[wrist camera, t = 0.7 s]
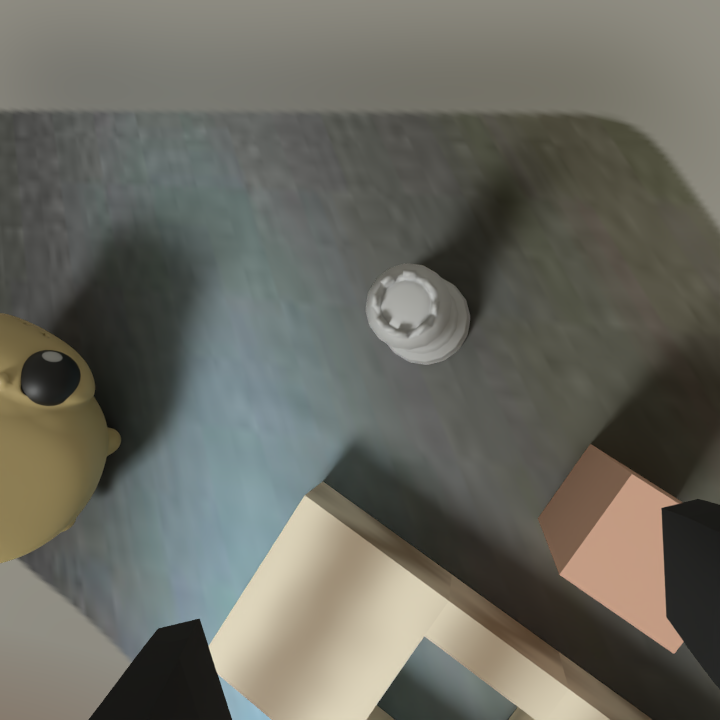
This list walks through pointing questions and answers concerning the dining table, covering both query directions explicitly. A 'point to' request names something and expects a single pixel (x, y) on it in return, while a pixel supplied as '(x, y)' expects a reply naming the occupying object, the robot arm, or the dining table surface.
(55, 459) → the yellow toy creature
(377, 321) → the rook chess piece
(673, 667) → the dining table surface
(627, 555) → the square peg
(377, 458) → the dining table surface
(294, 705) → the rail
